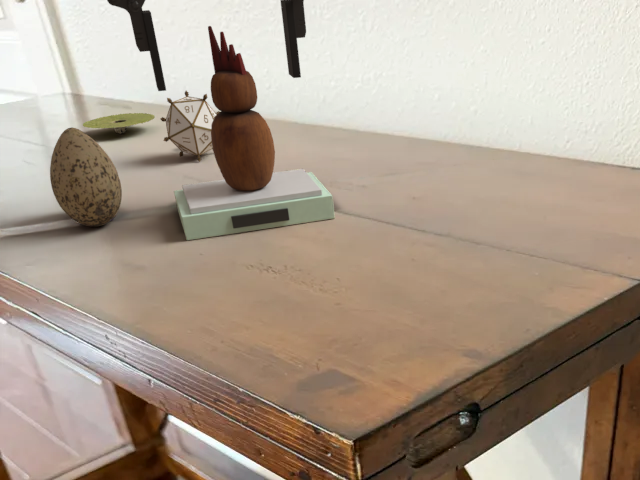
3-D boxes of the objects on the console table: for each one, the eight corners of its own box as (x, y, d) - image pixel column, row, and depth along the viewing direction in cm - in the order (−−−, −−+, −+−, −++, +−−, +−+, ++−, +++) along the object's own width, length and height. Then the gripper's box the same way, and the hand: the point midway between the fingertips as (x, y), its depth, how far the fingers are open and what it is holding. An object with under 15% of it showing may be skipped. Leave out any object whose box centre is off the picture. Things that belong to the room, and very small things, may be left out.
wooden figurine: (212, 186, 90) (182, 27, 81) (259, 176, 92) (234, 20, 83) (239, 198, 85) (210, 32, 76) (287, 187, 88) (265, 24, 79)
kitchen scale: (187, 241, 85) (180, 211, 83) (178, 212, 93) (172, 185, 92) (335, 219, 88) (332, 190, 86) (314, 193, 97) (310, 166, 95)
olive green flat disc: (72, 136, 131) (68, 123, 130) (131, 122, 137) (128, 110, 136) (111, 144, 125) (107, 130, 123) (171, 129, 131) (168, 115, 130)
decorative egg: (56, 225, 92) (26, 129, 86) (117, 211, 95) (92, 117, 89) (77, 240, 87) (46, 139, 81) (140, 224, 90) (115, 126, 84)
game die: (196, 188, 115) (144, 136, 107) (190, 153, 120) (139, 100, 112) (245, 151, 113) (195, 94, 105) (237, 116, 117) (188, 59, 109)
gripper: (30, -200, 64) (103, 100, 77) (337, -207, 69) (356, 75, 82) (35, -190, 70) (102, 88, 83) (318, -198, 75) (339, 65, 88)
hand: (229, 82), depth 83 cm, fingers open, 13 cm apart
